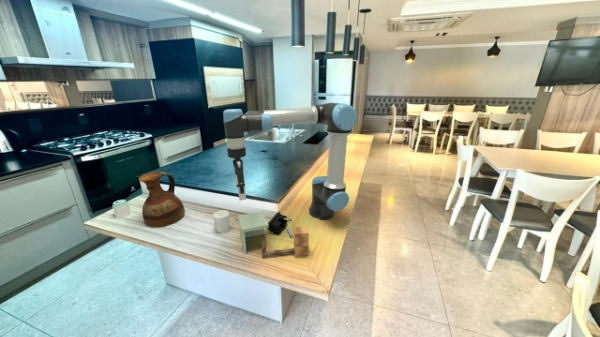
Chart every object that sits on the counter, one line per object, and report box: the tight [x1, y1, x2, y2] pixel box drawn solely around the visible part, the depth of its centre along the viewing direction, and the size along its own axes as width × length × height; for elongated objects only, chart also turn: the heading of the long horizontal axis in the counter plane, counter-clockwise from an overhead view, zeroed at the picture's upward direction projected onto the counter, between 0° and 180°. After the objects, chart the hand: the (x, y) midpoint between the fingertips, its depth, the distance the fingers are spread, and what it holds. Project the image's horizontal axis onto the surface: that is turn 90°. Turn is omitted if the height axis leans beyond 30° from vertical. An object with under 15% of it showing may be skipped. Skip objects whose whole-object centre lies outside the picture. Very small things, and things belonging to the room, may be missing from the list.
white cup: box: [212, 209, 231, 234], centre depth 120 cm, size 8×8×10 cm
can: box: [112, 199, 132, 219], centre depth 130 cm, size 7×7×12 cm
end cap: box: [266, 211, 288, 236], centre depth 121 cm, size 10×7×7 cm
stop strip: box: [285, 226, 294, 239], centre depth 118 cm, size 1×7×2 cm, turn 20°
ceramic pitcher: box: [138, 171, 186, 228], centre depth 126 cm, size 20×20×30 cm
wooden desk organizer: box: [261, 226, 310, 259], centre depth 105 cm, size 20×12×12 cm, turn 98°
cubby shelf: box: [238, 210, 269, 254], centre depth 110 cm, size 12×13×12 cm
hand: (241, 193), depth 103 cm, fingers open, 13 cm apart
